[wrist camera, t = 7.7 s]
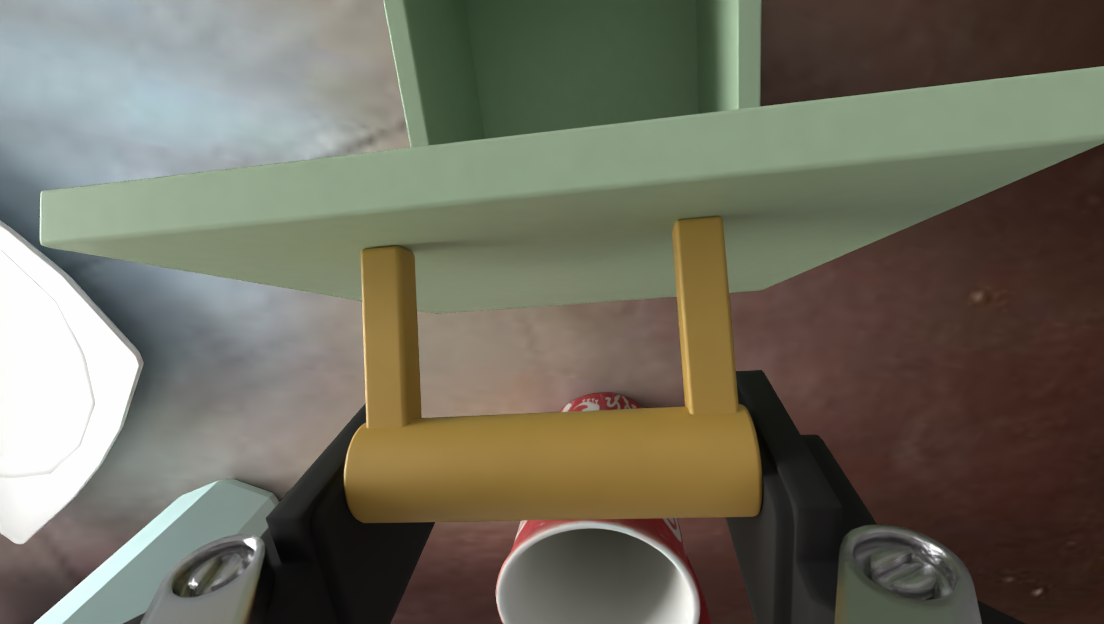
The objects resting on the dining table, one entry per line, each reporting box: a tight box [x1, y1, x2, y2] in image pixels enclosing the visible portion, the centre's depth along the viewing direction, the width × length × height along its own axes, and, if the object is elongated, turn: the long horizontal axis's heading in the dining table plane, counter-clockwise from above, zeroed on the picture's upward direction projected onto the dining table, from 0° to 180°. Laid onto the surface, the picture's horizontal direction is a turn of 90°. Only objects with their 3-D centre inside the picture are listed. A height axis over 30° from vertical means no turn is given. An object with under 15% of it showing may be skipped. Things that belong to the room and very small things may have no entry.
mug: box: [496, 393, 711, 624], centre depth 30 cm, size 13×9×14 cm
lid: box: [40, 66, 1104, 523], centre depth 14 cm, size 15×13×5 cm
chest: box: [383, 0, 762, 148], centre depth 25 cm, size 15×13×10 cm
